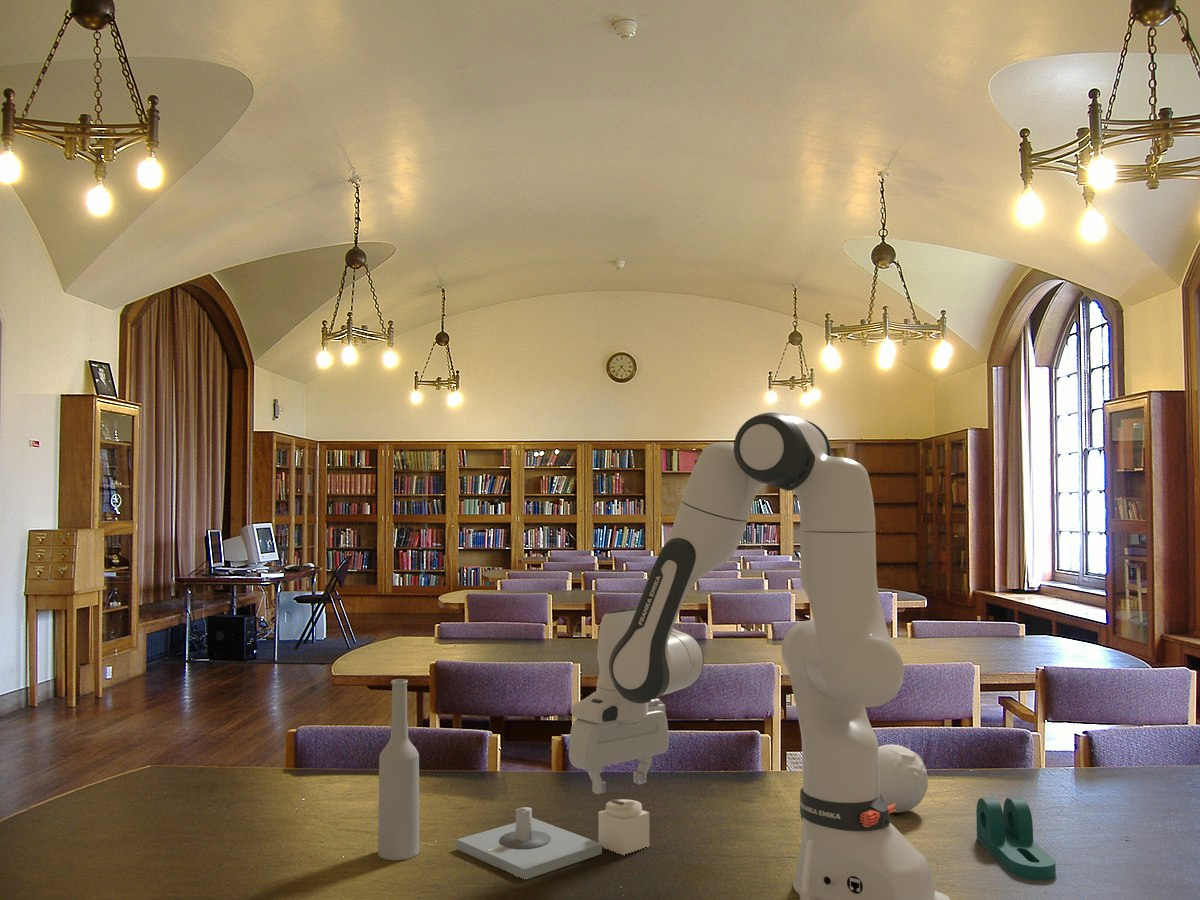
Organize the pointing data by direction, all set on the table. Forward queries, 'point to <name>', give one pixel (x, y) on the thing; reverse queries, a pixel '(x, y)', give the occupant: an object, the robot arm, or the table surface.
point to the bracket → (1013, 838)
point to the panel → (529, 846)
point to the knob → (623, 826)
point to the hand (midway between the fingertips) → (619, 787)
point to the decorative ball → (901, 777)
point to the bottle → (398, 786)
